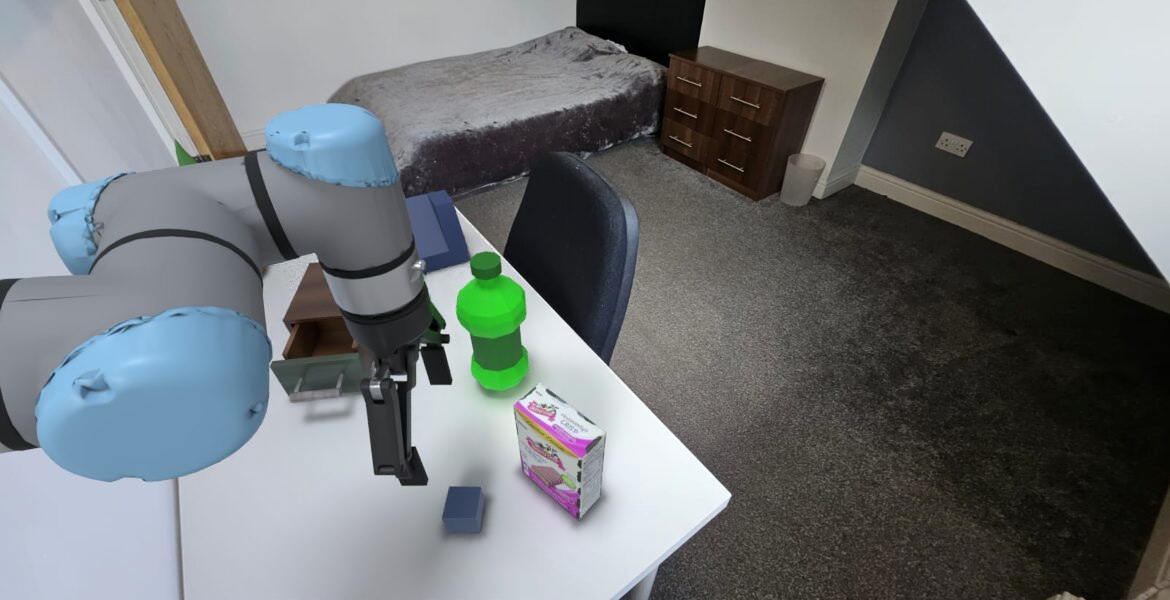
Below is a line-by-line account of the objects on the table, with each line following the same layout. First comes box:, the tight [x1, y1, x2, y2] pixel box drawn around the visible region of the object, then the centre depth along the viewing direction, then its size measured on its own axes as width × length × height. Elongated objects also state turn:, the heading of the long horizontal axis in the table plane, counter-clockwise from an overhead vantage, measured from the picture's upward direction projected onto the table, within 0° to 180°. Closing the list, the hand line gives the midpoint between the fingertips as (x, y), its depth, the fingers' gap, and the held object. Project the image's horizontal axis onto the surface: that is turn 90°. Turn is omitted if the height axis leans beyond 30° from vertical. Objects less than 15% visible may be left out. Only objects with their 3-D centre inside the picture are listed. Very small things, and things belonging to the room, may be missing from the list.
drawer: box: [269, 319, 374, 404], centre depth 77 cm, size 19×13×8 cm, turn 9°
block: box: [441, 485, 486, 534], centre depth 61 cm, size 4×4×4 cm
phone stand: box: [404, 189, 470, 275], centre depth 103 cm, size 12×12×12 cm
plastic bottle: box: [455, 250, 530, 392], centre depth 72 cm, size 10×10×25 cm
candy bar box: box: [512, 382, 607, 521], centre depth 61 cm, size 11×5×16 cm, turn 50°
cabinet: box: [282, 261, 343, 335], centre depth 86 cm, size 16×14×10 cm
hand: (429, 428), depth 56 cm, fingers open, 13 cm apart
